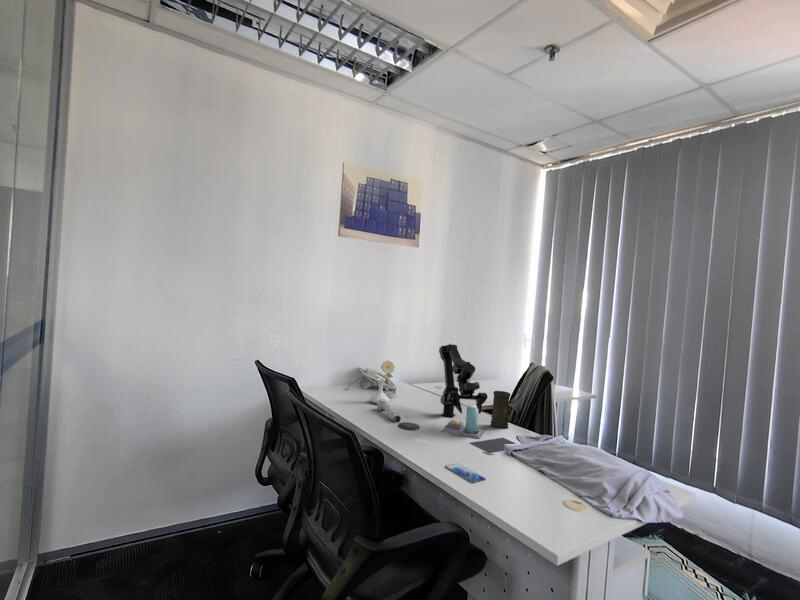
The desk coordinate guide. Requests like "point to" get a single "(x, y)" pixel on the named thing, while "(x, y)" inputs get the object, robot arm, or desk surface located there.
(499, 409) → the container
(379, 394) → the flower in vase
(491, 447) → the notebook
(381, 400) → the white tube
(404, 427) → the pad
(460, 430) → the housing
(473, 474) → the smartphone
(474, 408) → the cartridge
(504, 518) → the desk surface
